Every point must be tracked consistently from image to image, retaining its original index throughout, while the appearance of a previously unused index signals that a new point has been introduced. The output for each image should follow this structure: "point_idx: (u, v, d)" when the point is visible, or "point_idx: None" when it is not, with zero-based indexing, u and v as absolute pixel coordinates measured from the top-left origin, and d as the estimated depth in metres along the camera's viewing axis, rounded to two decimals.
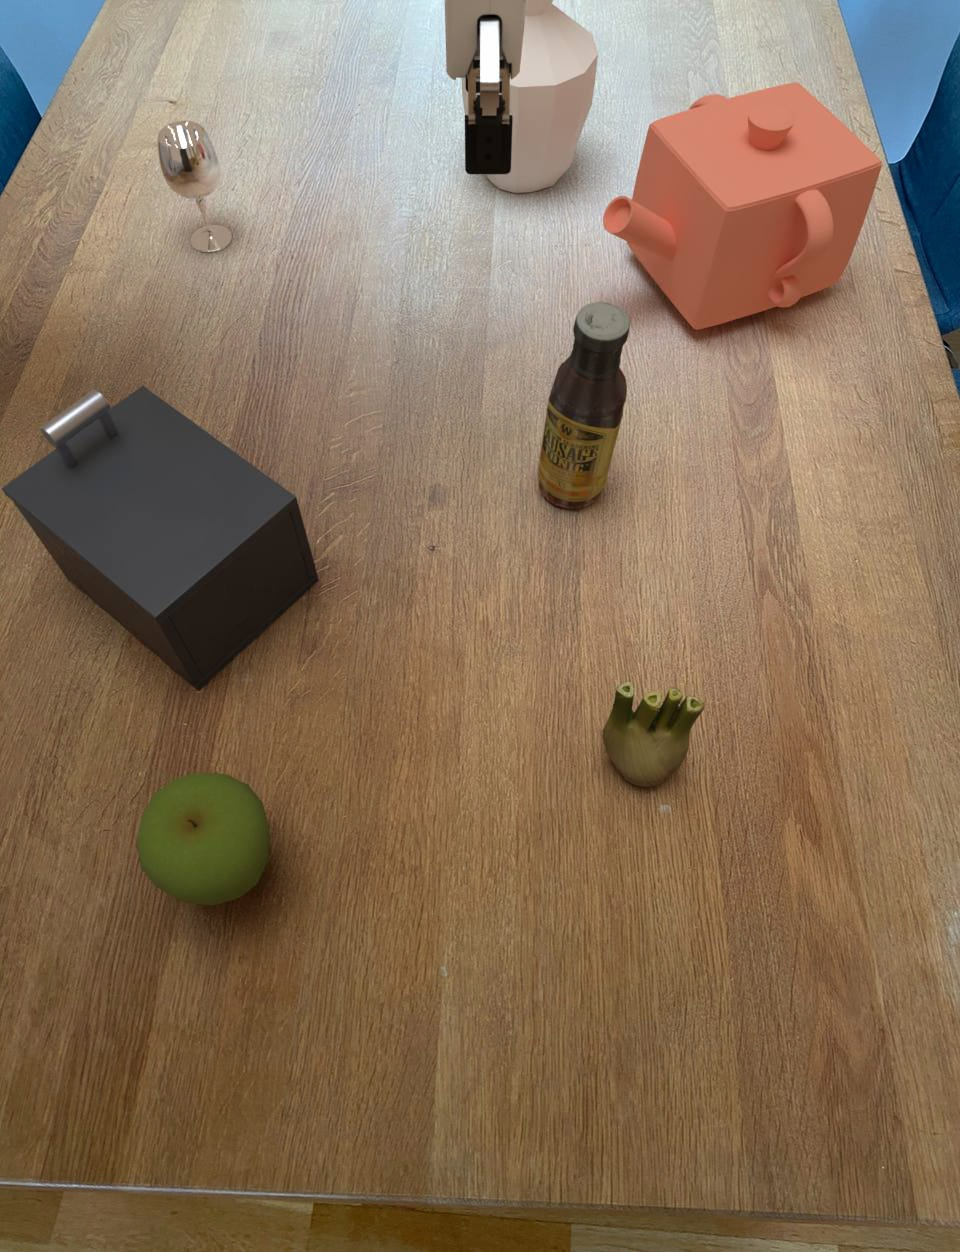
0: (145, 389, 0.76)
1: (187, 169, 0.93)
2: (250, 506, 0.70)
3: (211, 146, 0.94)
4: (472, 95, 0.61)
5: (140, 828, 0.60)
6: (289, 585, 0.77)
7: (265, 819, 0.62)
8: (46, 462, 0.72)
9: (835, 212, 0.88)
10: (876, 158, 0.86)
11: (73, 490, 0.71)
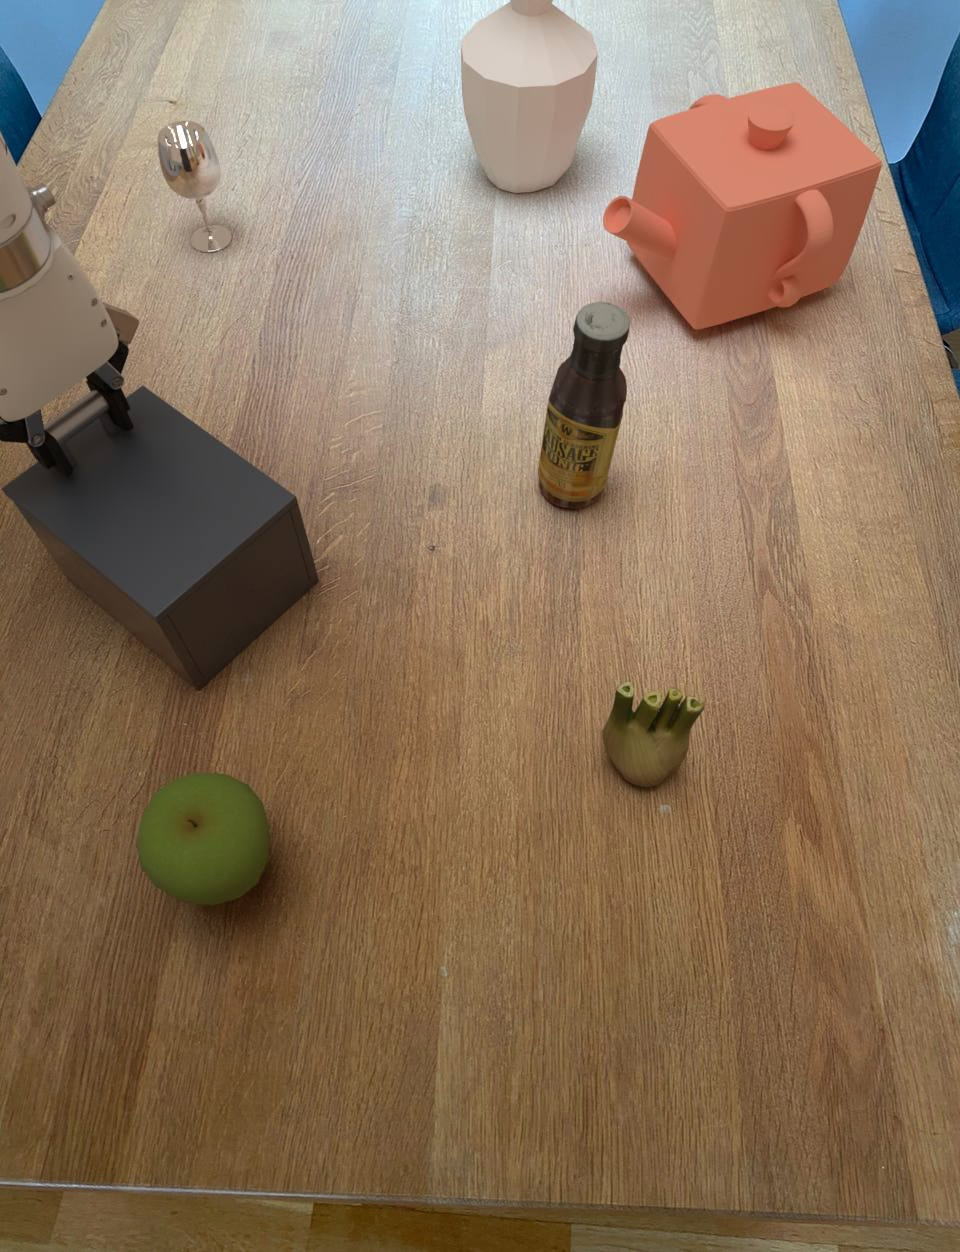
0: (145, 389, 0.76)
1: (187, 169, 0.93)
2: (250, 506, 0.70)
3: (211, 146, 0.94)
4: None
5: (140, 828, 0.60)
6: (289, 585, 0.77)
7: (265, 819, 0.62)
8: None
9: (835, 212, 0.88)
10: (876, 158, 0.86)
11: (73, 490, 0.71)
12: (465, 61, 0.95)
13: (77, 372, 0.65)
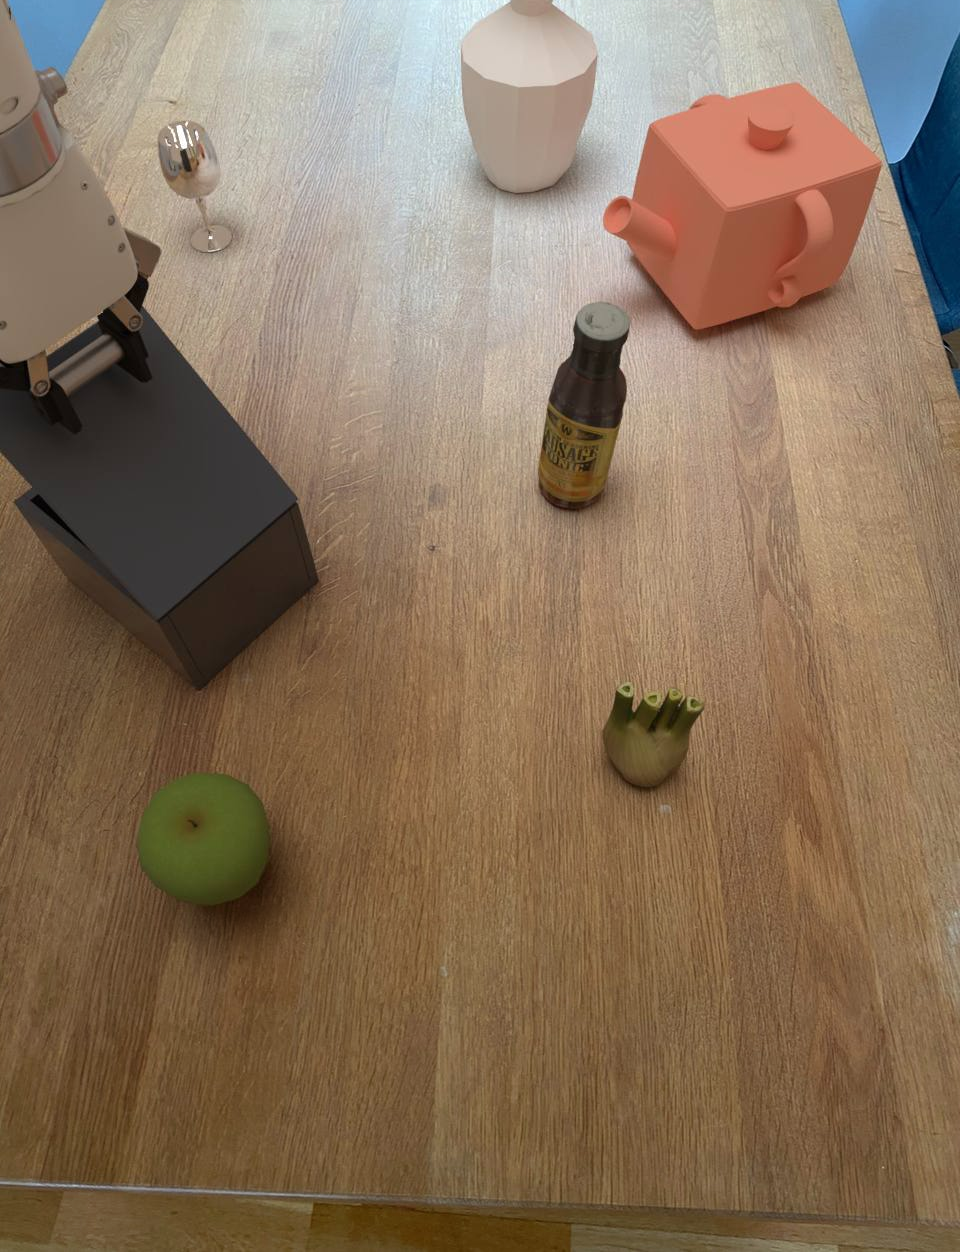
0: None
1: (187, 169, 0.93)
2: (254, 501, 0.69)
3: (211, 146, 0.94)
4: None
5: (140, 828, 0.60)
6: (289, 585, 0.77)
7: (265, 819, 0.62)
8: None
9: (835, 212, 0.88)
10: (876, 158, 0.86)
11: (58, 436, 0.62)
12: (465, 61, 0.95)
13: (89, 306, 0.55)
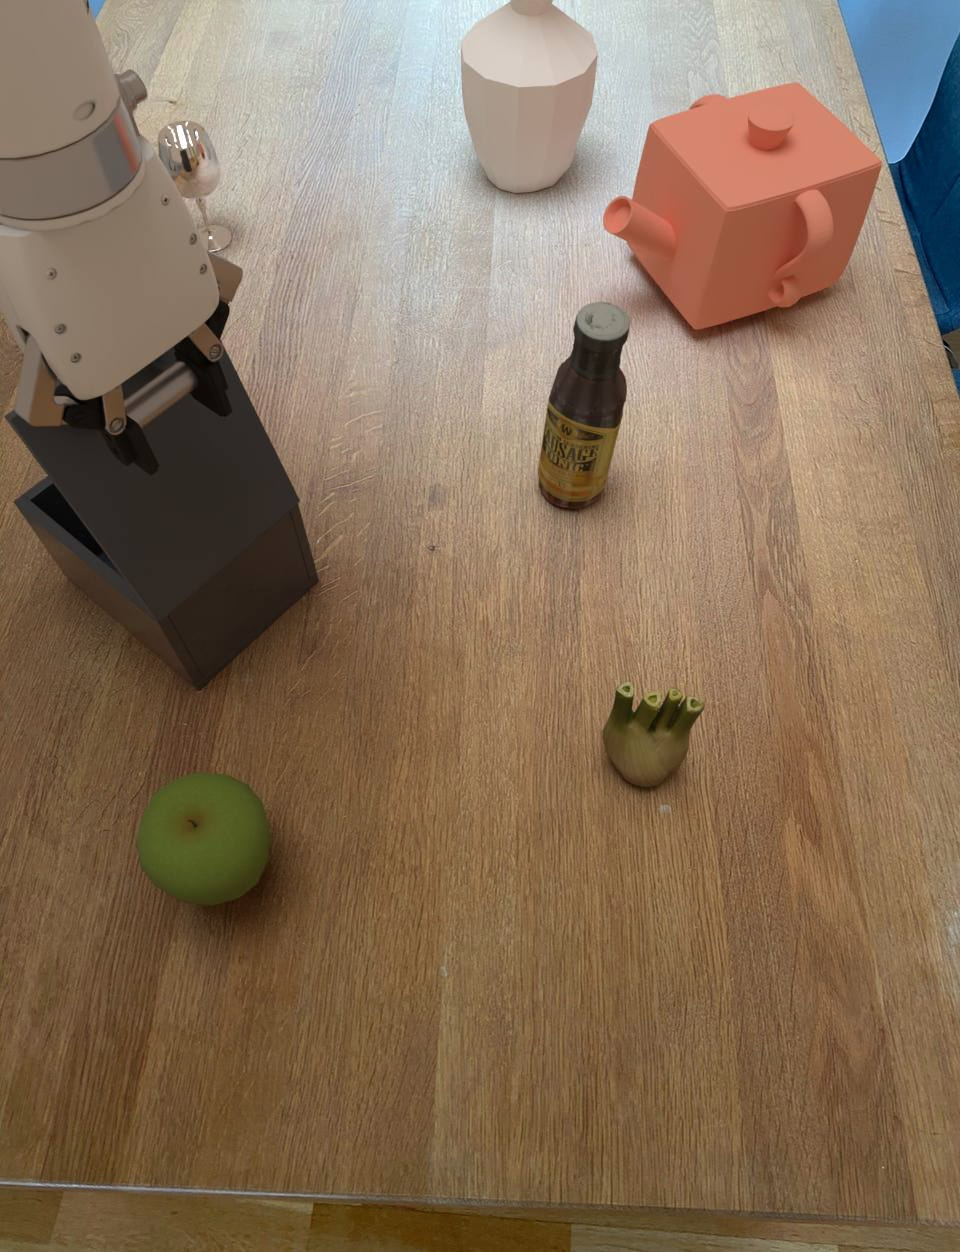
0: None
1: (187, 169, 0.93)
2: (262, 505, 0.68)
3: (211, 146, 0.94)
4: None
5: (140, 828, 0.60)
6: (289, 585, 0.77)
7: (265, 819, 0.62)
8: None
9: (835, 212, 0.88)
10: (876, 158, 0.86)
11: (99, 445, 0.57)
12: (465, 61, 0.95)
13: (169, 335, 0.50)
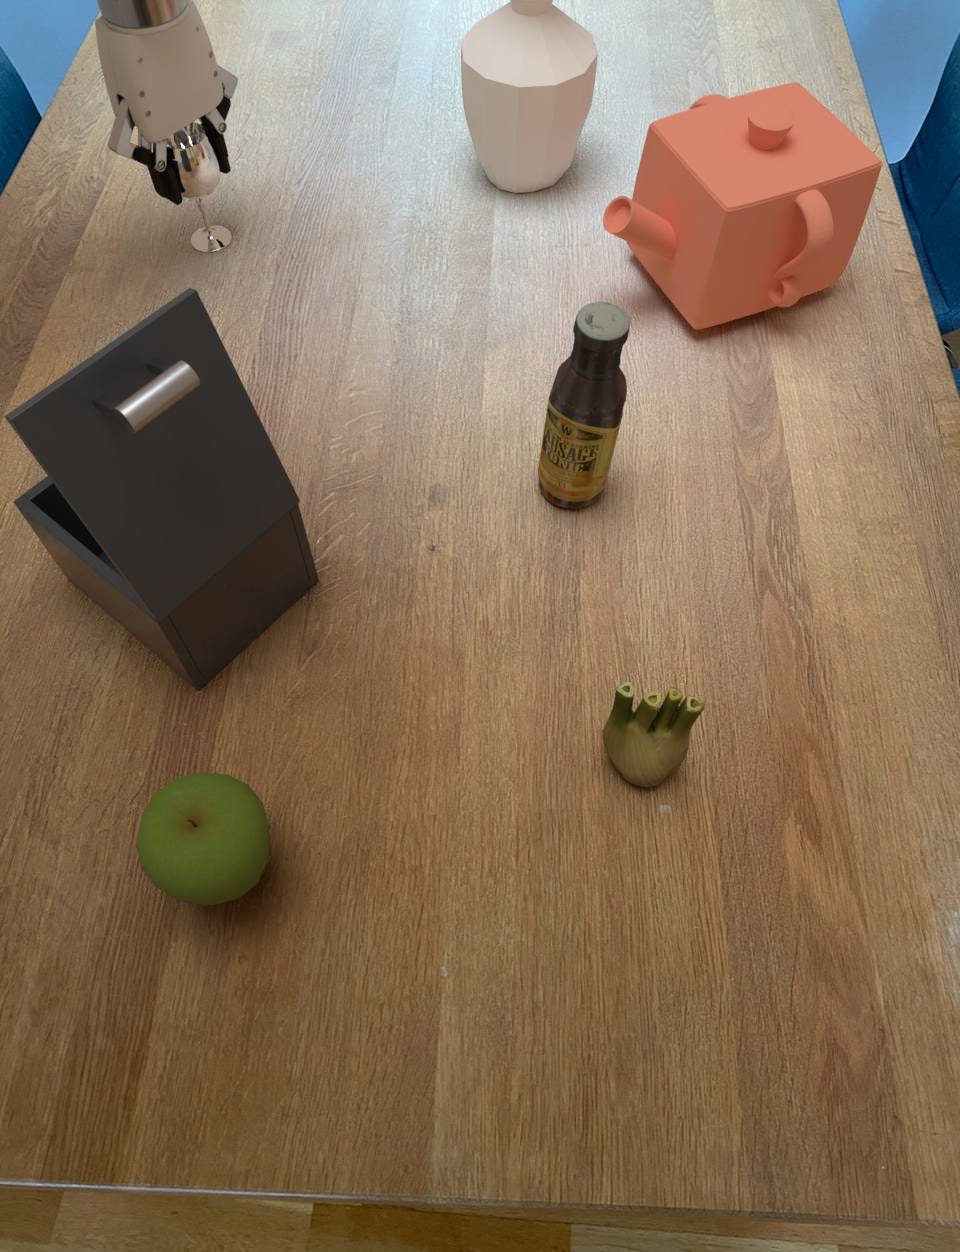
0: (198, 299, 0.58)
1: (187, 169, 0.93)
2: (262, 505, 0.68)
3: (211, 146, 0.94)
4: (139, 145, 0.91)
5: (140, 828, 0.60)
6: (289, 585, 0.77)
7: (265, 819, 0.62)
8: (70, 390, 0.54)
9: (835, 212, 0.88)
10: (876, 158, 0.86)
11: (99, 445, 0.57)
12: (465, 61, 0.95)
13: (195, 111, 0.90)
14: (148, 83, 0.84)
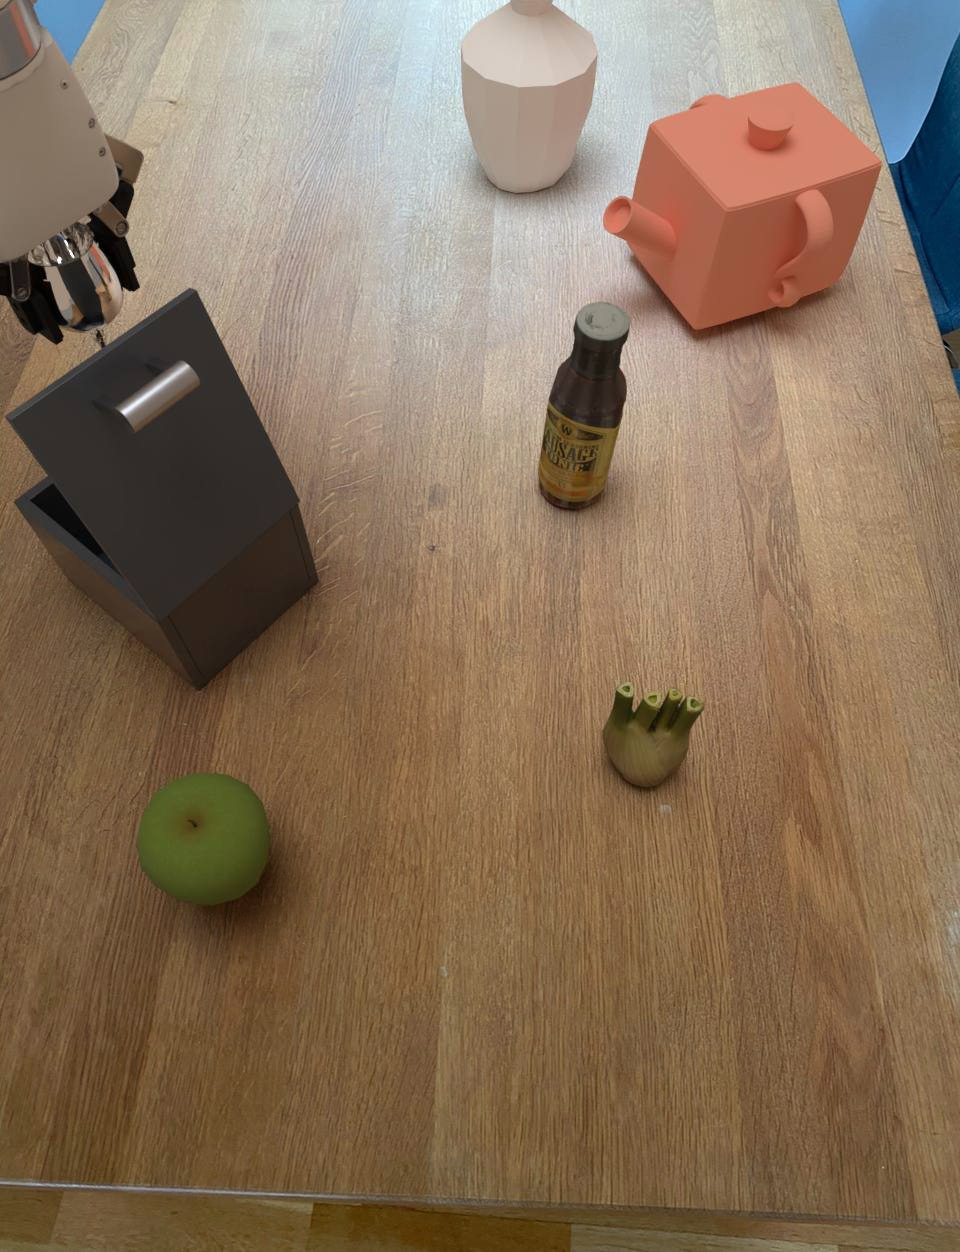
0: (198, 299, 0.58)
1: (66, 295, 0.60)
2: (262, 505, 0.68)
3: (105, 257, 0.61)
4: None
5: (140, 828, 0.60)
6: (289, 585, 0.77)
7: (265, 819, 0.62)
8: (70, 390, 0.54)
9: (835, 212, 0.88)
10: (876, 158, 0.86)
11: (99, 445, 0.57)
12: (465, 61, 0.95)
13: (72, 210, 0.57)
14: None
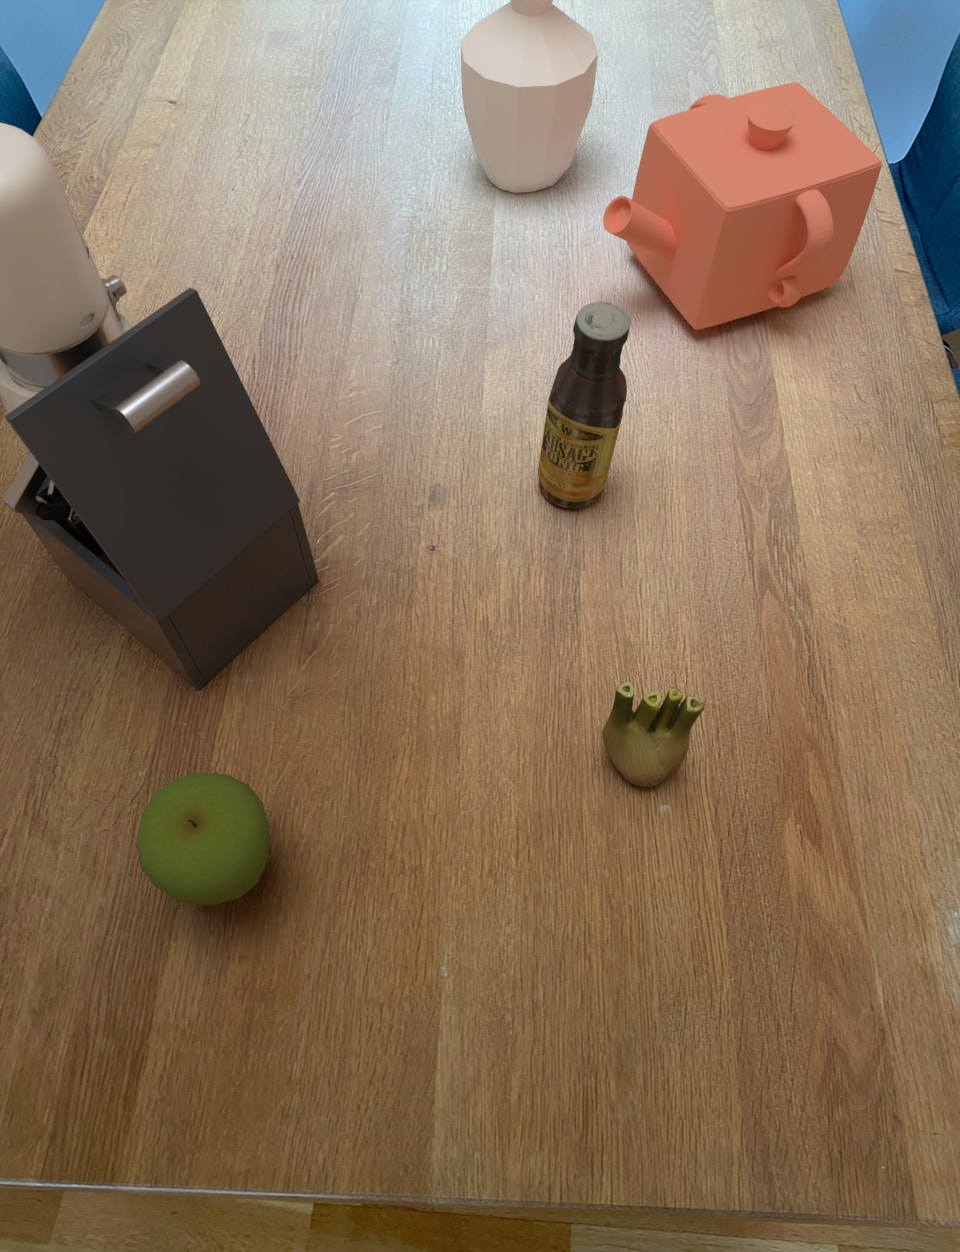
0: (198, 299, 0.58)
1: None
2: (262, 505, 0.68)
3: None
4: (51, 488, 0.68)
5: (140, 828, 0.60)
6: (289, 585, 0.77)
7: (265, 819, 0.62)
8: (70, 390, 0.54)
9: (835, 212, 0.88)
10: (876, 158, 0.86)
11: (99, 445, 0.57)
12: (465, 61, 0.95)
13: None
14: None
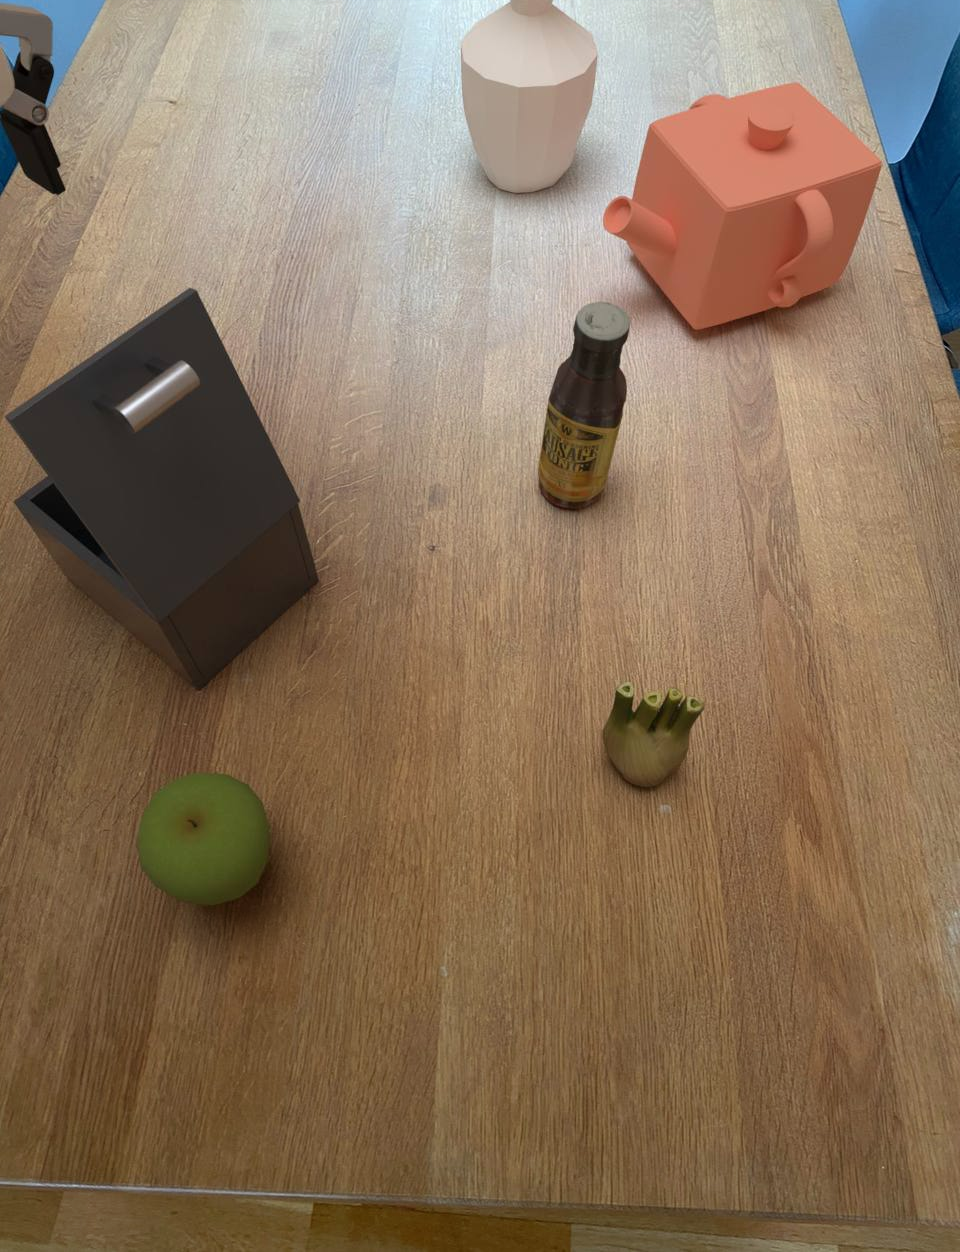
0: (198, 299, 0.58)
1: None
2: (262, 505, 0.68)
3: None
4: None
5: (140, 828, 0.60)
6: (289, 585, 0.77)
7: (265, 819, 0.62)
8: (70, 390, 0.54)
9: (835, 212, 0.88)
10: (876, 158, 0.86)
11: (99, 445, 0.57)
12: (465, 61, 0.95)
13: None
14: None
